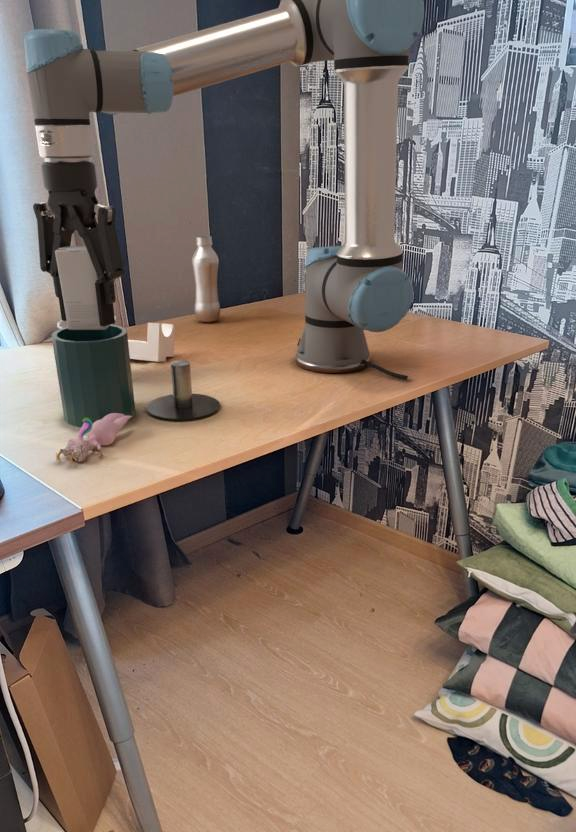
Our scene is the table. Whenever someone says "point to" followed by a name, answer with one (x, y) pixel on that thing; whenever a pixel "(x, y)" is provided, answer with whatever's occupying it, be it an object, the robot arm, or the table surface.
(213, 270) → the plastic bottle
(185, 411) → the lid
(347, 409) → the table surface
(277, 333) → the table surface
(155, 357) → the bracket
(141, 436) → the table surface
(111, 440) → the pink toy creature
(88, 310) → the cosmetic box
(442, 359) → the table surface
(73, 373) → the cup
